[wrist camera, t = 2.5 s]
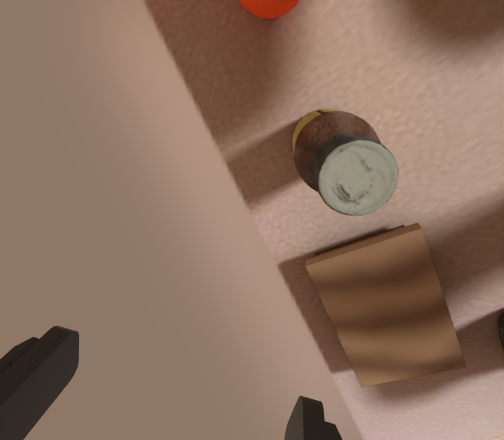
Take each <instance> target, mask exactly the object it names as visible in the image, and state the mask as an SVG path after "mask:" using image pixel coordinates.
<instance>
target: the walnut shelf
mask: <svg viewBox="0 0 504 440" xmlns="http://www.w3.org/2000/svg"><path fill="white" fill-rule="evenodd" d="M305 267H306V269H307V271H308V273H309V276H310V278H311V280H312V282H313V284H314V286H315V288H316V291H317V293H318V295H319V297H320V299H321V301H322V304H323V306H324V308H325V310H326V312H327V314H328V317H329V319H330V321H331V323H332V325H333V327H334V330H335V332H336V334H337V336H338V338H339V340H340V342H341V345H342V347H343V349H344V351H345V353H346V355H347V358H348V360H349V362H350V364H351V366H352V368H353V371H354V373H355V375H356V377H357V379H358V381H359V383H360V386H361V387H366V386H371V385H376V384H381V383H386V382H392V381H397V380H402V379H407V378H412V377H417V376H422V375H428V374H433V373H438V372H443V371H448V370H453V369H459V368H464V367H466V364H465V361H464V357H463V354H462V351H461V348H460V345H459V342H458V339H457V335H456V332H455V329H454V326H453V323H452V320H451V317H450V313H449V310H448V307H447V304H446V301H445V298H444V295H443V291H442V288H441V285H440V282H439V279H438V276H437V273H436V269H435V266H434V263H433V260H432V257H431V254H430V251H429V247H428V244H427V241H426V238H425V235H424V232H423V229H422V227H421V226H420V225H419V224H418V223H415V224H412V225H409V226H406V227H405V226H404V225H402V226H399V227H396V228H393V229H390V230H387V231H384V232H381V233H378V234H375V235H372V236H369V237H366V238H363V239H360V240H357V241H354V242H351V243H348V244H345V245H342V246H339V247H336V248H333V249H330V250H327V251H324V252H321V253H318V254H315V257H313V258H310V259H307V260H305Z"/></svg>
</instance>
